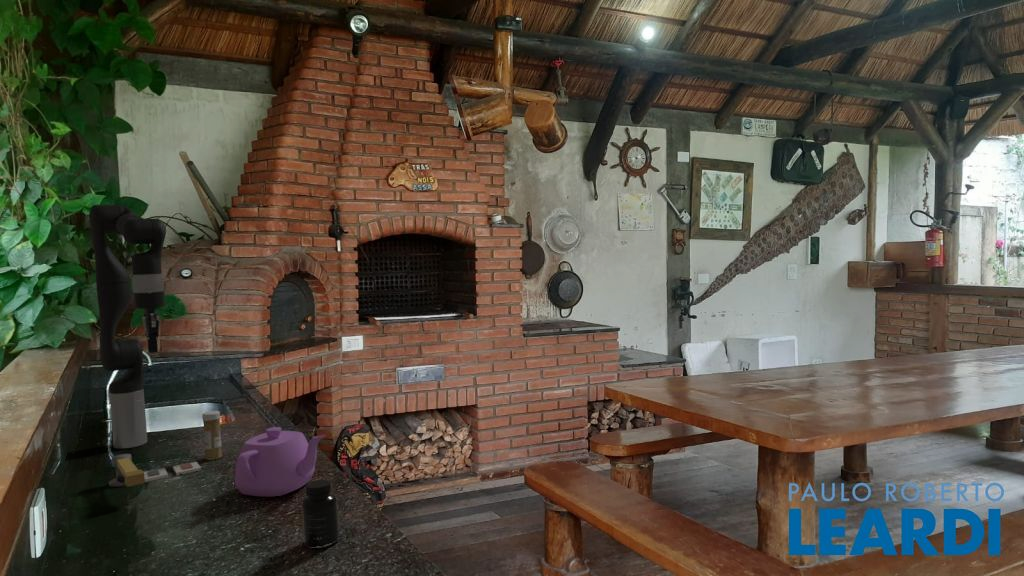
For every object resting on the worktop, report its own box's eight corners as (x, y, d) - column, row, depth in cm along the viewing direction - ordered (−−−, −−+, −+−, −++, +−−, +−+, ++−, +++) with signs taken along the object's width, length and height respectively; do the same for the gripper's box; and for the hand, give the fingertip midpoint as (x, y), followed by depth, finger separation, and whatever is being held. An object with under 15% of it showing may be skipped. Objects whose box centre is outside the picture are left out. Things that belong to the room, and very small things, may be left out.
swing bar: (130, 460, 172) (129, 451, 171) (146, 482, 154) (146, 472, 154) (110, 464, 169) (110, 455, 169) (125, 487, 151) (124, 477, 151)
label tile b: (172, 469, 179) (172, 465, 178) (196, 464, 182) (196, 460, 182) (176, 475, 173) (176, 471, 173) (201, 470, 176) (200, 466, 176)
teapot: (212, 504, 151) (208, 441, 150) (271, 474, 171) (268, 417, 170) (295, 513, 144) (291, 446, 144) (347, 480, 164) (343, 421, 164)
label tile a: (139, 475, 174) (139, 471, 174) (164, 470, 177) (164, 466, 177) (142, 482, 168) (142, 478, 168) (168, 477, 172) (168, 473, 172)
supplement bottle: (308, 535, 132) (305, 478, 132) (342, 533, 133) (339, 476, 132) (300, 551, 125) (296, 490, 125) (336, 548, 126) (332, 488, 125)
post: (108, 482, 170) (106, 465, 169) (136, 476, 173) (134, 459, 173) (109, 489, 164) (108, 471, 164) (138, 483, 168) (137, 465, 168)
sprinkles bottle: (223, 458, 186) (220, 412, 185) (206, 461, 184) (203, 415, 183) (221, 454, 190) (218, 409, 189) (204, 457, 188) (201, 412, 187)
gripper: (130, 290, 183) (135, 351, 184) (135, 292, 172) (140, 356, 173) (160, 289, 187) (165, 348, 188) (167, 290, 177) (171, 353, 178)
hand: (153, 352), depth 181 cm, fingers closed
